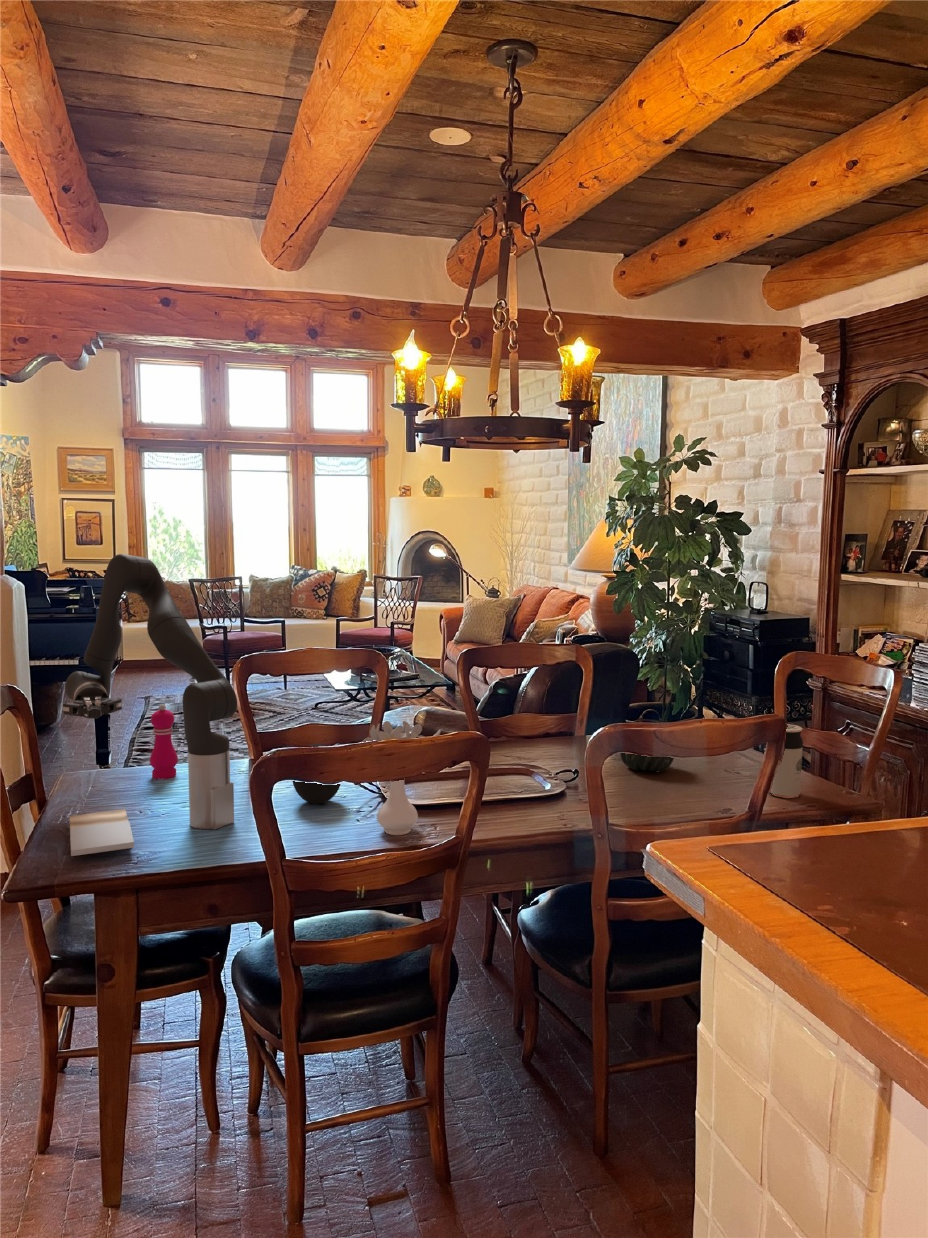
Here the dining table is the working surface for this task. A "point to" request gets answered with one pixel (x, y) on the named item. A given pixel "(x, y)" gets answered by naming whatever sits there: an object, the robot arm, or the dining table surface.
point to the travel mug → (790, 764)
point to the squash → (646, 761)
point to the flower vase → (396, 784)
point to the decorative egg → (315, 790)
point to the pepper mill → (163, 745)
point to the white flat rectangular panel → (101, 838)
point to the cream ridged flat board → (98, 818)
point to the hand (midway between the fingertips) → (94, 713)
